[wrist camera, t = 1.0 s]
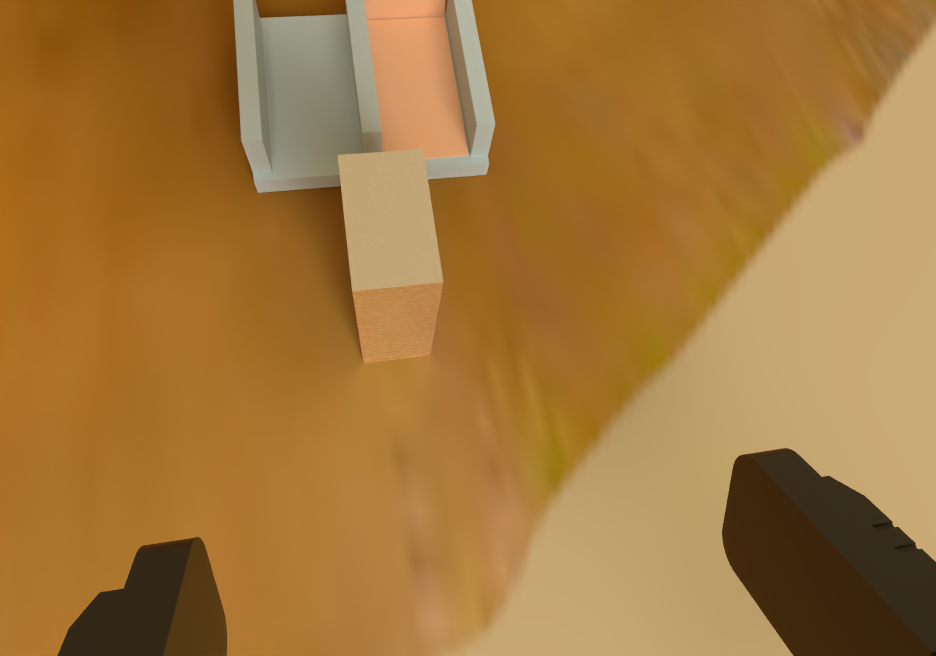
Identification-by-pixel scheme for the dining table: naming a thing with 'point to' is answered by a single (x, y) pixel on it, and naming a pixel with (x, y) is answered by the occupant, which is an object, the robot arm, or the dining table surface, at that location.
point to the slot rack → (361, 90)
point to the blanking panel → (391, 252)
